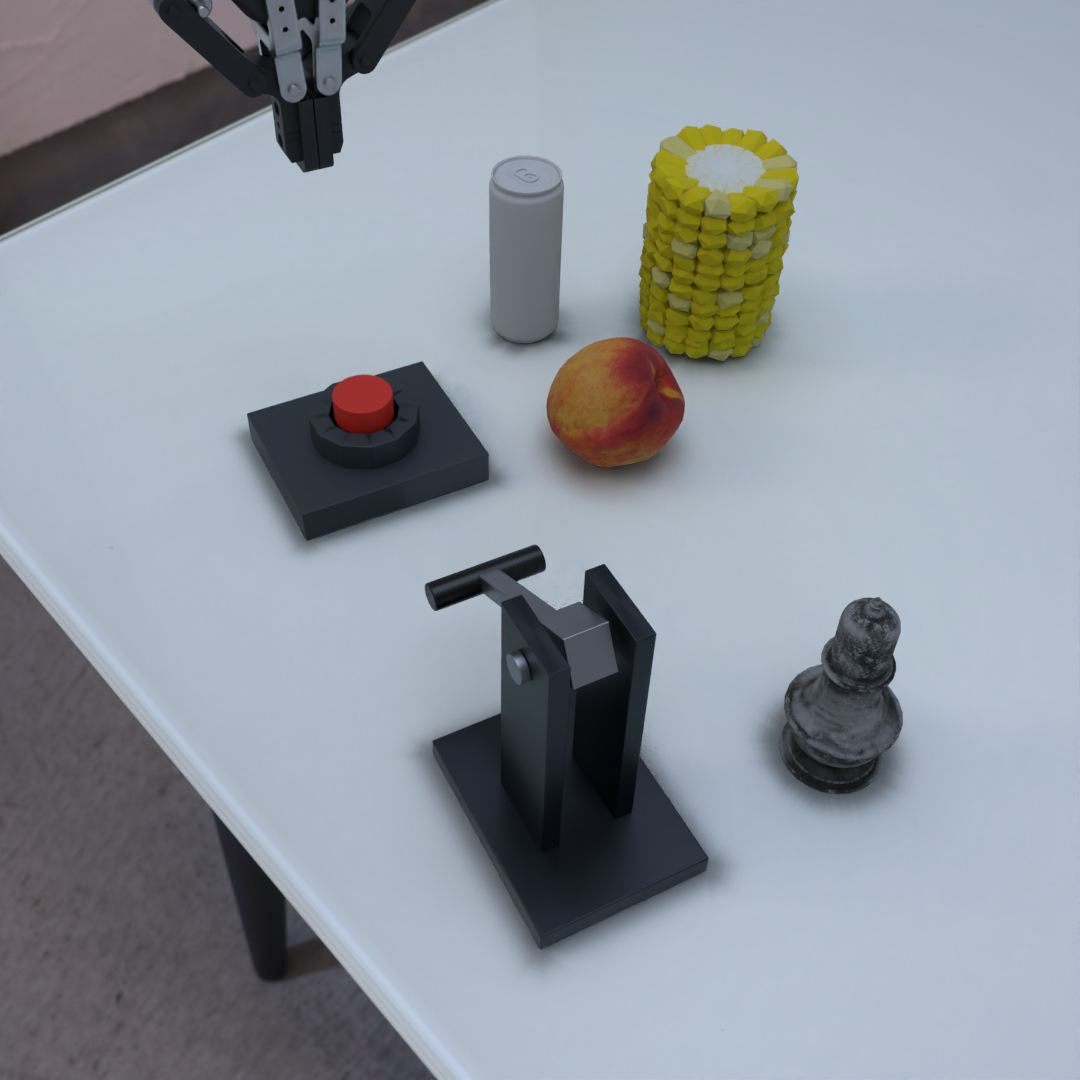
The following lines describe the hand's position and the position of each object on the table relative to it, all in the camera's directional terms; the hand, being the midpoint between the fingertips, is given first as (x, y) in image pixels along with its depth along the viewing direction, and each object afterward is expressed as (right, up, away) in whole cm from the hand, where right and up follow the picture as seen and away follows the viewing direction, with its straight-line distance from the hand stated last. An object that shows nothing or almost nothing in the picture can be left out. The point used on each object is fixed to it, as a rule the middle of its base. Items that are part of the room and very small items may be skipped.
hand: (311, 162), depth 63 cm
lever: (+11, -22, -2) cm, 25 cm away
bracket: (+12, -32, +2) cm, 34 cm away
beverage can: (+10, -3, +30) cm, 31 cm away
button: (0, -10, +17) cm, 20 cm away
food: (+22, -4, +30) cm, 37 cm away
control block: (0, -13, +20) cm, 24 cm away
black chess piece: (+26, -29, +5) cm, 39 cm away
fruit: (+15, -13, +21) cm, 29 cm away
